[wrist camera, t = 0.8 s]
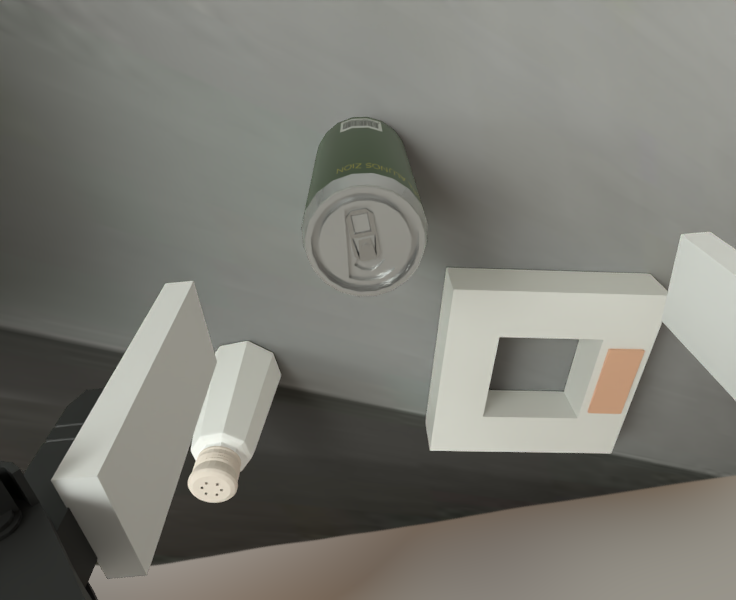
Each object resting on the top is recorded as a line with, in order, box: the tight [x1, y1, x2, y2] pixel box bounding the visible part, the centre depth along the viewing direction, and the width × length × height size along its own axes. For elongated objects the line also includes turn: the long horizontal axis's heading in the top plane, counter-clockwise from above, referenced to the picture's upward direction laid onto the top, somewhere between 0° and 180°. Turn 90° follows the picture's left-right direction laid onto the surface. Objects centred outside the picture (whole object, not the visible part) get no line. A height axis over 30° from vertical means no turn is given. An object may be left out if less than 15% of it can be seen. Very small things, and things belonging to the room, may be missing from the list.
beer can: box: [301, 117, 428, 296], centre depth 27 cm, size 5×5×12 cm
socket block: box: [425, 267, 668, 453], centre depth 39 cm, size 14×14×3 cm
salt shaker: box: [188, 341, 281, 503], centre depth 35 cm, size 5×5×11 cm
